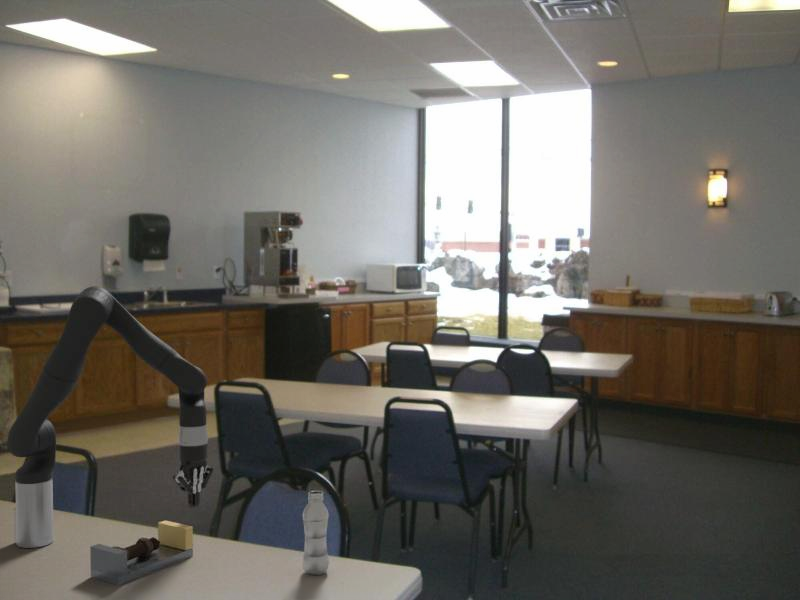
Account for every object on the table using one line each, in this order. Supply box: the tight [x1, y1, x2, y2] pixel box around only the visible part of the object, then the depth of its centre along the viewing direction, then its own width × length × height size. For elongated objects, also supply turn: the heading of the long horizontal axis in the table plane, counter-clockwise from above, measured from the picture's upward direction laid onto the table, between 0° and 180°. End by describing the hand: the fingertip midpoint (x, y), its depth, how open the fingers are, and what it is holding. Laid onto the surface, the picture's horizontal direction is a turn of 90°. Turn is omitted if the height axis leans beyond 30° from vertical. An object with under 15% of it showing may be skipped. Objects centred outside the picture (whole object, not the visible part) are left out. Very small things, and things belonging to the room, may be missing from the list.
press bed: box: [89, 543, 194, 586], centre depth 218 cm, size 10×24×8 cm, turn 148°
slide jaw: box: [157, 520, 194, 550], centre depth 228 cm, size 10×2×6 cm, turn 58°
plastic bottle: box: [302, 490, 330, 576], centre depth 214 cm, size 6×7×20 cm
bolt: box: [112, 536, 160, 561], centre depth 217 cm, size 6×5×15 cm
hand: (194, 506), depth 233 cm, fingers closed
